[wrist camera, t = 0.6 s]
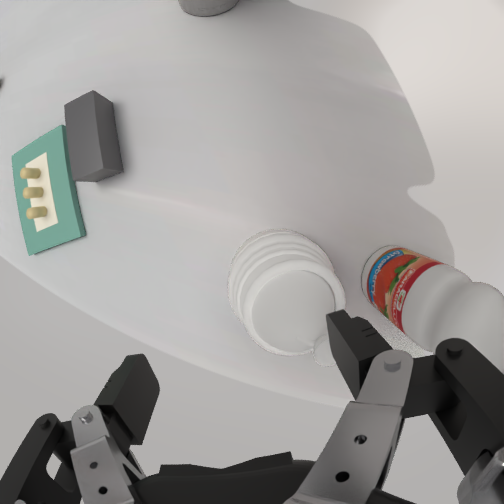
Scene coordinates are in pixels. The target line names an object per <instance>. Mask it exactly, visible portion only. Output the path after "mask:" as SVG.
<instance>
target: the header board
mask: <svg viewBox="0 0 504 504" xmlns="http://www.w3.org/2000/svg"><path fill="white" fill-rule="evenodd" d="M12 167H13V177H14V185H15V192H16V199H17V205H18V210H19V216H20V221H21V226H22V230H23V235H24V239H25V243H26V247H27V251H28V254H29V256H30V255H33V254H35V253H38V252H41V251H43V250H46V249H49V248H51V247H54V246H57V245H59V244H62V243H65V242H68V241H70V240H73V239H76V238H79V237H82V236H85V235H86V233H85V229H84V225H83V221H82V217H81V212H80V208H79V203H78V198H77V193H76V188H75V183H74V181H73V177H72V171H71V165H70V158H69V151H68V142H67V133H66V126H64V125H60V126H58V127H57V128H55V129H53V130H51V131H50V132H48V133H46V134H45V135H43V136H41V137H40V138H38V139H37V140H35V141H33V142H32V143H30V144H29V145H27V146H26V147H24V148H23V149H21V150H20V151H18V152H17V153H15V154H14V155H13V156H12Z"/></svg>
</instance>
